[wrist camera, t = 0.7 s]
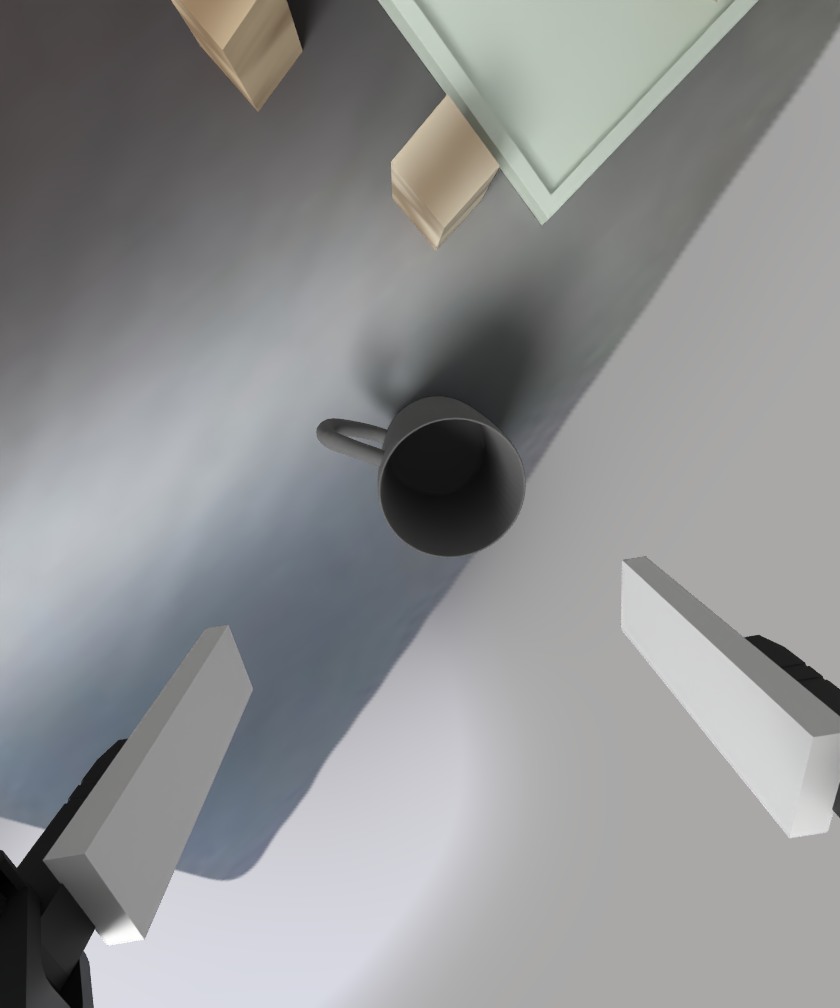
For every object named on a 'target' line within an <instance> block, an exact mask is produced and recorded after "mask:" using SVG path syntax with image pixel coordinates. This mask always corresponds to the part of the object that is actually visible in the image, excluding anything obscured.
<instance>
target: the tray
mask: <svg viewBox="0 0 840 1008" xmlns="http://www.w3.org/2000/svg"><path fill="white" fill-rule="evenodd" d="M378 1H379V3H380V4H381V5H382V7H383V8H384V10H385V11H386V12H387V14H388V15H389V16H390V18H391V19H392V21H393V22H394V23H395V25H396V26H397V27H398V29H399V30H400V31H401V33H402V34H403V36H404V37H405V38H406V40H407V41H408V42H409V44H410V45H411V47H412V48H413V49H414V51H415V52H416V53H417V55H418V56H419V58H420V59H421V60H422V62H423V63H424V64H425V66H426V67H427V69H428V70H429V71H430V73H431V74H432V75H433V77H434V78H435V80H436V81H437V82H438V84H439V85H440V86H441V88H442V89H443V91H444V92H445V93H446V95H447V94H448V95H449V96H450V98H451V99H452V100H453V102H454V103H455V105H456V106H457V107H458V109H459V110H460V111H461V113H462V114H463V116H464V117H465V118H466V120H467V121H468V122H469V124H470V125H471V127H472V128H473V129H474V131H475V132H476V133H477V135H478V136H479V138H480V139H481V140H482V142H483V143H484V144H485V146H486V147H487V149H488V150H489V151H490V153H491V154H492V155H493V157H494V158H495V160H496V161H497V162H498V164H499V165H500V169H501V170H502V172H503V173H504V174H505V176H506V177H507V178H508V180H509V181H510V183H511V184H512V185H513V187H514V188H515V189H516V191H517V192H518V193H519V195H520V196H521V198H522V199H523V200H524V202H525V203H526V204H527V206H528V207H529V209H530V210H531V211H532V213H533V214H534V215H535V217H536V218H537V220H538V221H539V222H540V224H541V225H543V224H544V223H545V222H546V221H547V220H548V219H549V218H550V217H551V216H552V215H553V214H554V213H555V212H556V211H557V210H558V209H559V208H560V207H561V206H562V205H563V204H564V203H565V202H566V201H567V200H568V198H569V197H570V196H571V195H572V194H573V193H574V192H575V191H576V190H577V189H578V188H579V187H580V186H581V185H582V184H583V183H584V182H585V181H586V180H587V179H588V178H589V177H590V176H591V174H592V173H593V172H594V171H595V170H596V169H597V168H598V167H599V166H600V165H601V164H602V163H603V162H604V161H605V160H606V159H607V158H608V157H609V156H610V155H611V154H612V153H613V152H614V150H615V149H616V148H617V147H618V146H619V145H620V144H621V143H622V142H623V141H624V140H625V139H626V138H627V137H628V136H629V135H630V134H631V133H632V132H633V131H634V130H635V129H636V128H637V126H638V125H639V124H640V123H641V122H642V121H643V120H644V119H645V118H646V117H647V116H648V115H649V114H650V113H651V112H652V111H653V110H654V109H655V108H656V107H657V106H658V105H659V103H660V102H661V101H662V100H663V99H664V98H665V97H666V96H667V95H668V94H669V93H670V92H671V91H672V90H673V89H674V88H675V87H676V86H677V85H678V84H679V83H680V82H681V81H682V79H683V78H684V77H685V76H686V75H687V74H688V73H689V72H690V71H691V70H692V69H693V68H694V67H695V66H696V65H697V64H698V63H699V62H700V61H701V60H702V59H703V58H704V57H705V55H706V54H707V53H708V52H709V51H710V50H711V49H712V48H713V47H714V46H715V45H716V44H717V43H718V42H719V41H720V40H721V39H722V38H723V37H724V36H725V35H726V34H727V33H728V31H729V30H730V29H731V28H732V27H733V26H734V25H735V24H736V23H737V22H738V21H739V20H740V19H741V18H742V17H743V16H744V15H745V14H746V13H747V12H748V11H749V10H750V9H751V7H752V6H753V5H754V4H755V3H756V2H757V1H758V0H718V1H717V2H715V1H714V0H378Z"/></svg>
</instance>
